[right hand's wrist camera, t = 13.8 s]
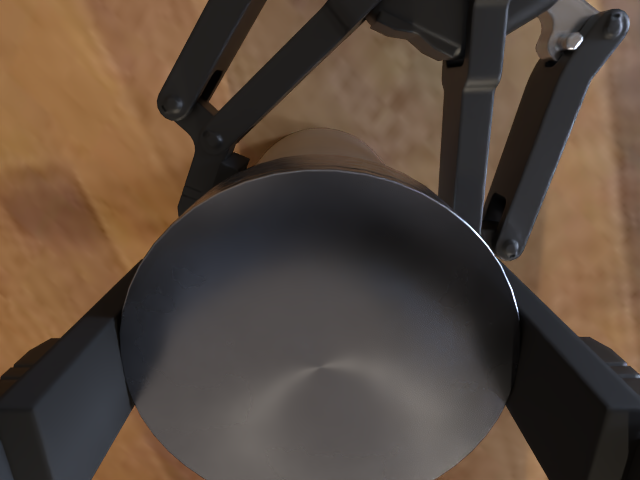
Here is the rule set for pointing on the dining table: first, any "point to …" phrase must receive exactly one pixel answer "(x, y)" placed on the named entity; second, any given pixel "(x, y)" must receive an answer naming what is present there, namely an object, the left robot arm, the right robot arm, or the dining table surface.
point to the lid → (320, 328)
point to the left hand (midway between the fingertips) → (282, 322)
